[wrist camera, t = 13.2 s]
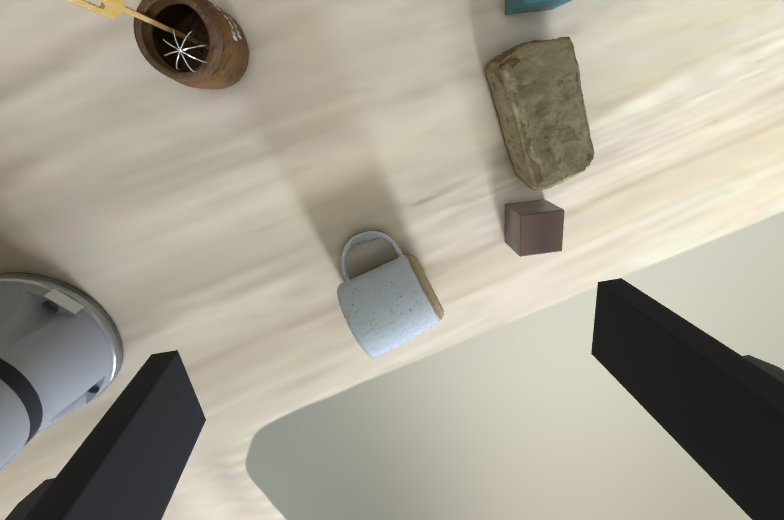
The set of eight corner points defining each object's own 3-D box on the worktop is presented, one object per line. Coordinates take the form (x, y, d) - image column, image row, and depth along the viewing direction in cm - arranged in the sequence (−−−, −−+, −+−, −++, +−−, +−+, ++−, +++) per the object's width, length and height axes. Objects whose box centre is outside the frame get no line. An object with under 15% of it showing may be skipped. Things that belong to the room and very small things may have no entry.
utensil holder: (234, 104, 33) (171, 106, 22) (159, 61, 31) (49, 39, 20) (263, 36, 31) (210, 0, 20) (185, -14, 29) (80, -82, 18)
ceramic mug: (440, 296, 41) (456, 335, 34) (372, 330, 42) (375, 375, 35) (393, 211, 37) (400, 235, 30) (320, 250, 38) (311, 282, 31)
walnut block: (504, 242, 40) (519, 257, 36) (504, 204, 38) (520, 215, 34) (543, 237, 40) (562, 251, 36) (544, 199, 38) (564, 209, 34)
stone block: (516, 185, 37) (538, 197, 33) (477, 63, 33) (496, 57, 28) (573, 160, 37) (604, 168, 32) (542, 33, 33) (572, 21, 28)
